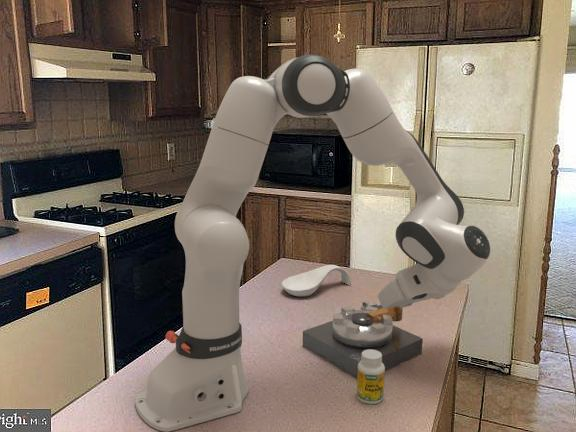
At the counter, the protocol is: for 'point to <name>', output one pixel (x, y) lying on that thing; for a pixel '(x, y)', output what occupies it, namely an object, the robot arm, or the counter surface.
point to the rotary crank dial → (365, 325)
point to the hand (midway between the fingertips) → (403, 304)
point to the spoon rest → (312, 280)
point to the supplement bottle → (370, 377)
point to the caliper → (370, 305)
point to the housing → (360, 348)
